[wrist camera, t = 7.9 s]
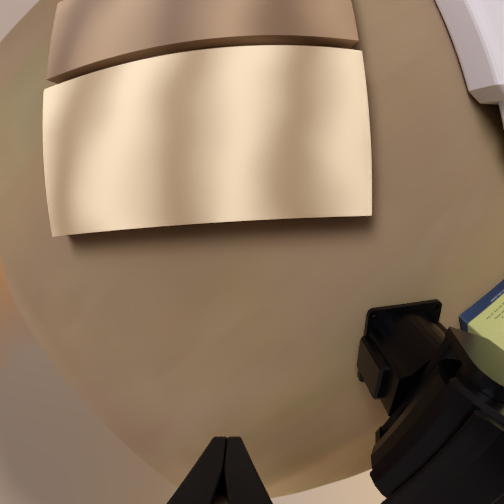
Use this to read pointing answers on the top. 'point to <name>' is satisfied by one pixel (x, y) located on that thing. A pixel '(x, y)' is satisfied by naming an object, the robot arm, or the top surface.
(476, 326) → the protein box
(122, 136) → the oak plank
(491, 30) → the charger
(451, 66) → the top surface
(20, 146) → the top surface
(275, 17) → the walnut board
